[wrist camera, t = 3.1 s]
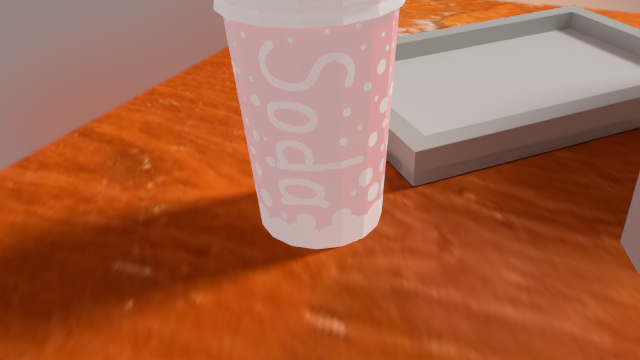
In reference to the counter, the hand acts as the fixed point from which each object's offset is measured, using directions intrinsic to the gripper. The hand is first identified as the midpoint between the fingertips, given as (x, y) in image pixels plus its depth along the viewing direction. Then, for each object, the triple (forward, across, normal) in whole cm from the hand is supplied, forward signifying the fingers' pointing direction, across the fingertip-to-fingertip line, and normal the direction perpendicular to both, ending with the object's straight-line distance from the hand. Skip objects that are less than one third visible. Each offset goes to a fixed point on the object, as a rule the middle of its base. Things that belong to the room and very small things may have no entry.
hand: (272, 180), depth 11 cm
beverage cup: (+10, 0, -8) cm, 12 cm away
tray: (+21, +9, -8) cm, 24 cm away
